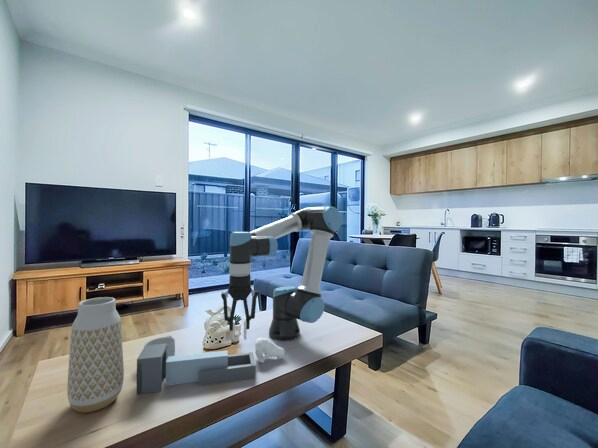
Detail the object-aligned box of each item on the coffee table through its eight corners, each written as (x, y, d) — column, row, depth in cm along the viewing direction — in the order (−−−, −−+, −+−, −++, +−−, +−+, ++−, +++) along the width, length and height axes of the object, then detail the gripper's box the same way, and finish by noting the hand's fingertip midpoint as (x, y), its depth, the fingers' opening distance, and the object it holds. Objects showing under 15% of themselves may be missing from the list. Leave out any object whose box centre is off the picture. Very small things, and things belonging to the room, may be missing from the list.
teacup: (162, 371, 101) (162, 350, 101) (136, 368, 103) (137, 346, 103) (185, 353, 114) (185, 334, 114) (162, 350, 116) (162, 332, 116)
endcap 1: (166, 374, 99) (167, 343, 99) (160, 391, 89) (161, 356, 89) (145, 377, 97) (145, 345, 97) (136, 394, 87) (136, 359, 87)
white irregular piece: (256, 334, 113) (285, 336, 115) (253, 355, 113) (282, 356, 115) (255, 341, 107) (286, 343, 109) (253, 363, 107) (284, 364, 109)
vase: (105, 384, 93) (105, 292, 92) (133, 394, 87) (134, 298, 87) (56, 409, 80) (56, 304, 80) (86, 424, 75) (86, 311, 74)
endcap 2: (252, 363, 107) (252, 352, 107) (255, 378, 98) (255, 365, 97) (200, 370, 102) (200, 358, 102) (198, 385, 92) (198, 372, 92)
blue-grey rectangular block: (227, 372, 101) (227, 350, 101) (227, 378, 98) (227, 355, 97) (168, 379, 96) (168, 356, 96) (165, 385, 92) (165, 362, 92)
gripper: (261, 271, 106) (260, 332, 107) (216, 273, 102) (216, 336, 102) (264, 275, 99) (263, 340, 99) (216, 277, 95) (215, 345, 95)
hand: (239, 338), depth 101 cm, fingers open, 3 cm apart
